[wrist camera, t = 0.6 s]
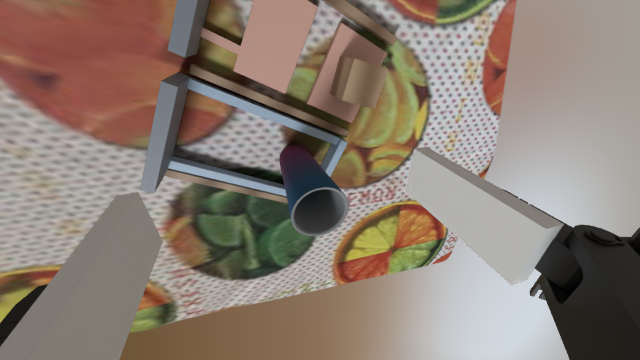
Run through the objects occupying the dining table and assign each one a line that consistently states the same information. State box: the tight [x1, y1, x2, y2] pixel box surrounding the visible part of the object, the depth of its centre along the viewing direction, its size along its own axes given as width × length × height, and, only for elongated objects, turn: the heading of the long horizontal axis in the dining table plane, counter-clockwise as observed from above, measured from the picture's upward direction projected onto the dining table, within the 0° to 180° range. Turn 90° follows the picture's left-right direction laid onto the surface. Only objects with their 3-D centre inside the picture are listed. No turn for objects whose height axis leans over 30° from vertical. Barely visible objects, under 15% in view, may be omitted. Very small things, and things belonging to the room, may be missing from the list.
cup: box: [280, 145, 349, 236], centre depth 33 cm, size 7×7×15 cm
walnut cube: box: [330, 56, 388, 109], centre depth 33 cm, size 5×5×5 cm
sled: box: [140, 72, 347, 196], centre depth 33 cm, size 24×12×8 cm, turn 64°
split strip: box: [168, 0, 387, 123], centre depth 28 cm, size 24×11×8 cm, turn 64°
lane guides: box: [165, 0, 397, 203], centre depth 34 cm, size 23×30×2 cm
